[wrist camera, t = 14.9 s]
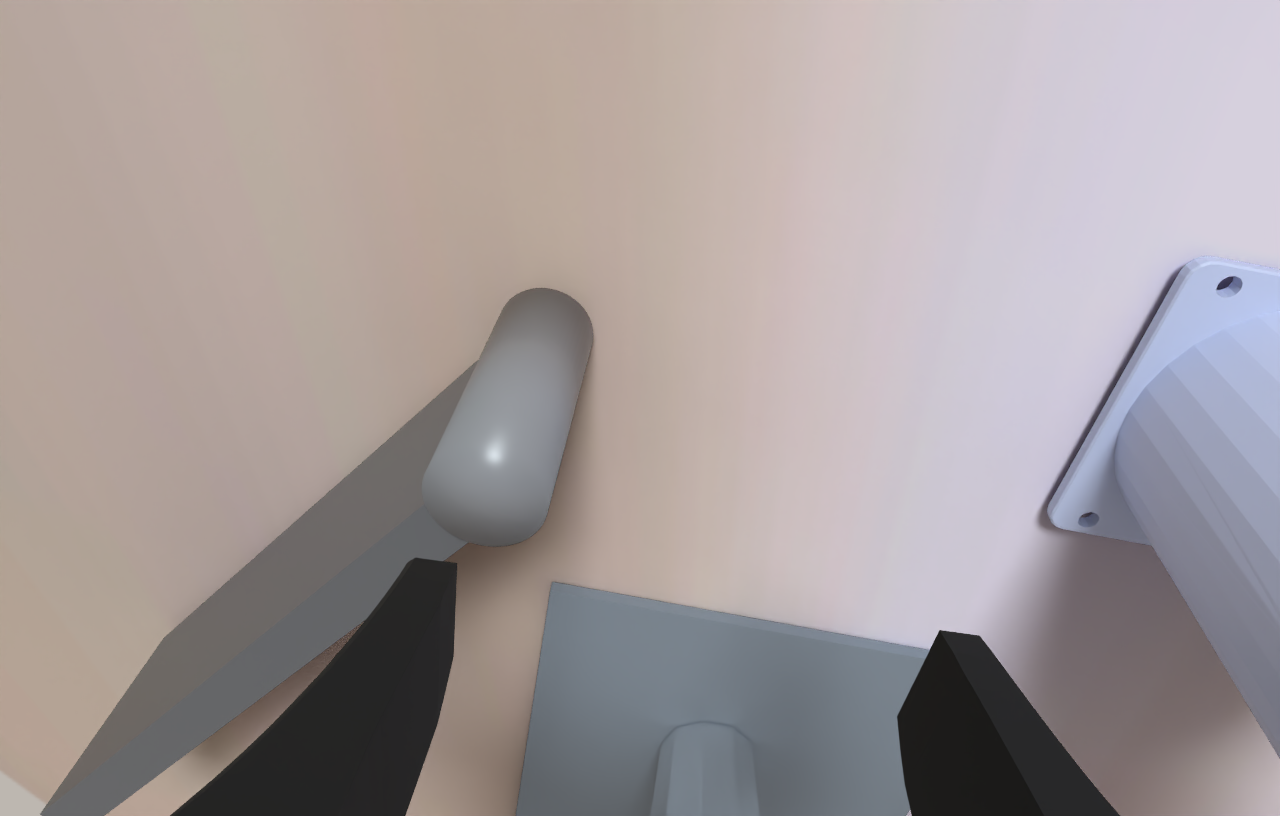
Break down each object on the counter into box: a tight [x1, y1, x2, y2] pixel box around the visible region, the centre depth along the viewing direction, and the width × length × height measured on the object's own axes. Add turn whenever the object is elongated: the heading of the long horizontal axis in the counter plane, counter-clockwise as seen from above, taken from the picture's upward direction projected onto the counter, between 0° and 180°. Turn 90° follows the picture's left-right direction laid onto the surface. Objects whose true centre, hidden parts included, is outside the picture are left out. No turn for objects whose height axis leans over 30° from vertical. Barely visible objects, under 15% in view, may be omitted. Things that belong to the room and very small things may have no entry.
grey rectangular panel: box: [40, 288, 593, 816], centre depth 23 cm, size 2×20×7 cm, turn 134°
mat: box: [516, 582, 930, 816], centre depth 31 cm, size 14×14×1 cm
